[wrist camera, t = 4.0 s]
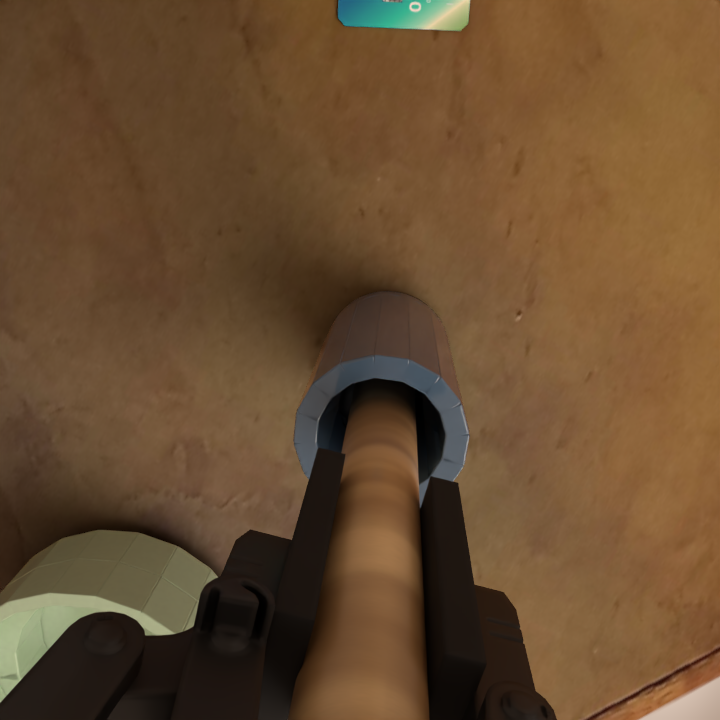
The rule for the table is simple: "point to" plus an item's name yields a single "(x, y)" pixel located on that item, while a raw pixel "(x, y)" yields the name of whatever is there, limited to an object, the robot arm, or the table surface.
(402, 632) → the stirring stick
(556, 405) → the table surface
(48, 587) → the bowl
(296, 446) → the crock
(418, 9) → the credit card
